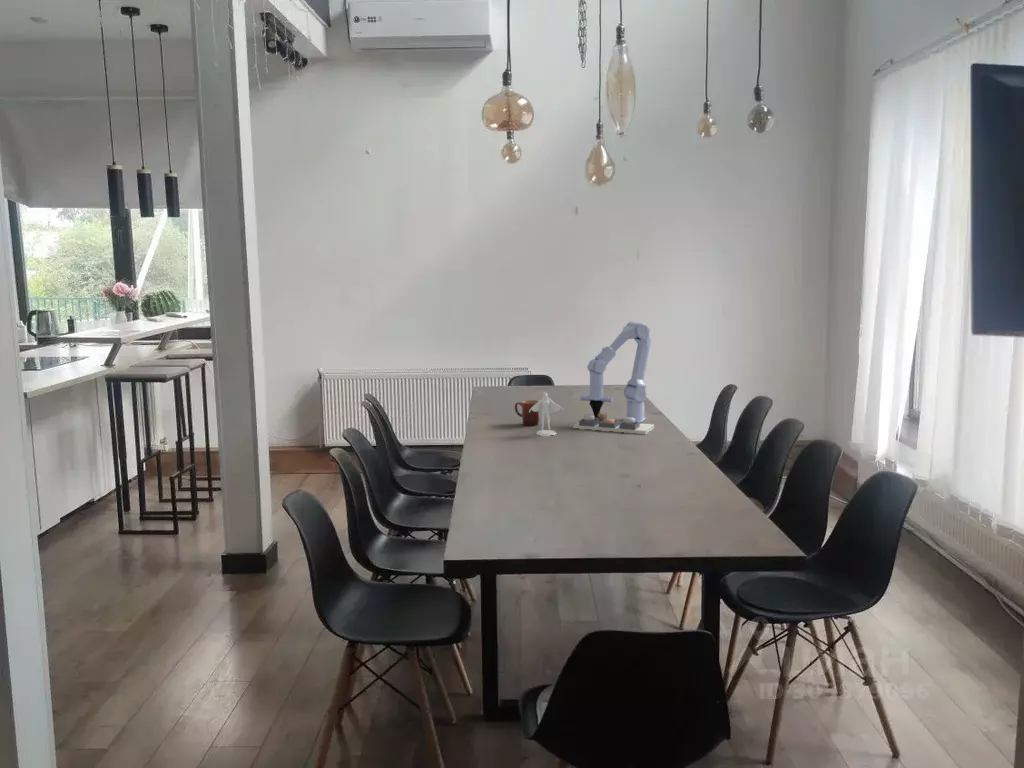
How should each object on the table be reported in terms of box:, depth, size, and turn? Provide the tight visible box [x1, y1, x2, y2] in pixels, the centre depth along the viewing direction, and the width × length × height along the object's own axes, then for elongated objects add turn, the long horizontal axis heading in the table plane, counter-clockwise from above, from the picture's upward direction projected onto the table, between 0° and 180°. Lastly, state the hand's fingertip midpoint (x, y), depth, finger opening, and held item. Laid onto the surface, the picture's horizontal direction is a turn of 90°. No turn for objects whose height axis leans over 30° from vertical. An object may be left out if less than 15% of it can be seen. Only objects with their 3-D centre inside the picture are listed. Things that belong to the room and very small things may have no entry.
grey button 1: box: [583, 413, 595, 422], centre depth 348 cm, size 5×5×2 cm
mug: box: [514, 399, 540, 427], centre depth 357 cm, size 12×9×10 cm
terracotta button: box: [604, 418, 616, 423], centre depth 344 cm, size 5×5×2 cm
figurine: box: [529, 391, 565, 437], centre depth 338 cm, size 14×11×18 cm
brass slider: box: [598, 411, 608, 420], centre depth 353 cm, size 4×3×4 cm
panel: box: [572, 417, 655, 435], centre depth 347 cm, size 14×32×4 cm, turn 65°
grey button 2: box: [623, 416, 635, 425], centre depth 340 cm, size 5×5×2 cm
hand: (596, 417), depth 354 cm, fingers closed
